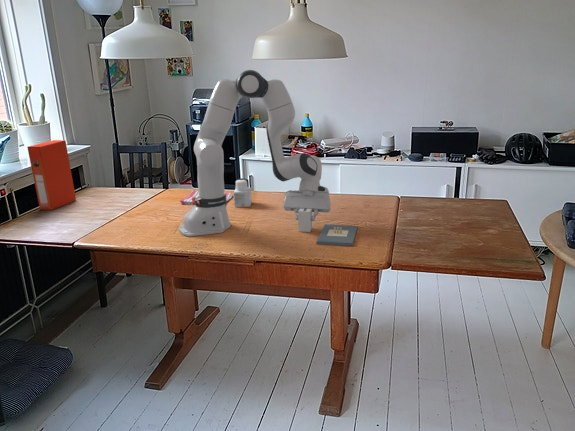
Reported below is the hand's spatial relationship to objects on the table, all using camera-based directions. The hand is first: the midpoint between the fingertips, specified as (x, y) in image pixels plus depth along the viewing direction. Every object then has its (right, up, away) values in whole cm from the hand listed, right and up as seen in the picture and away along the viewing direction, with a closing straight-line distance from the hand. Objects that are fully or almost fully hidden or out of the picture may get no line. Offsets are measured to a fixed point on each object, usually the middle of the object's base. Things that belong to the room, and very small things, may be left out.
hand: (304, 219), depth 214 cm
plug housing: (0, -4, +2) cm, 5 cm away
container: (-29, +7, +39) cm, 49 cm away
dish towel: (-49, +9, +49) cm, 69 cm away
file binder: (-126, +7, +49) cm, 135 cm away
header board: (+13, -6, -6) cm, 16 cm away
